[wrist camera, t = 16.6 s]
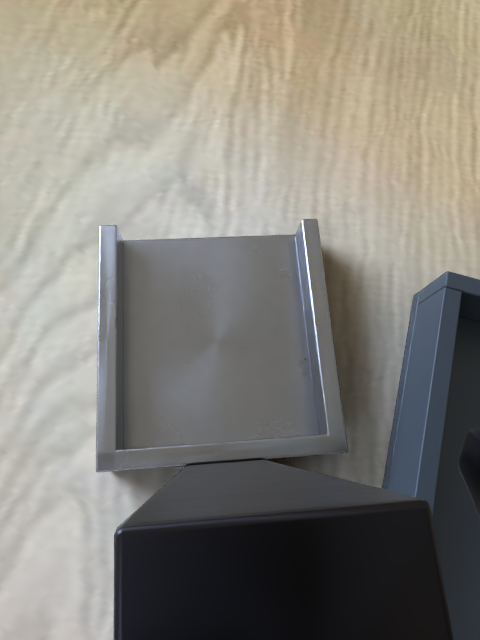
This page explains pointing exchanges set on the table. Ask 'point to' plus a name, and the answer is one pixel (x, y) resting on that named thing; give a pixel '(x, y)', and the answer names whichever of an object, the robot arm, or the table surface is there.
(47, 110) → the table surface
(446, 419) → the tray
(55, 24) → the table surface
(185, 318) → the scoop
